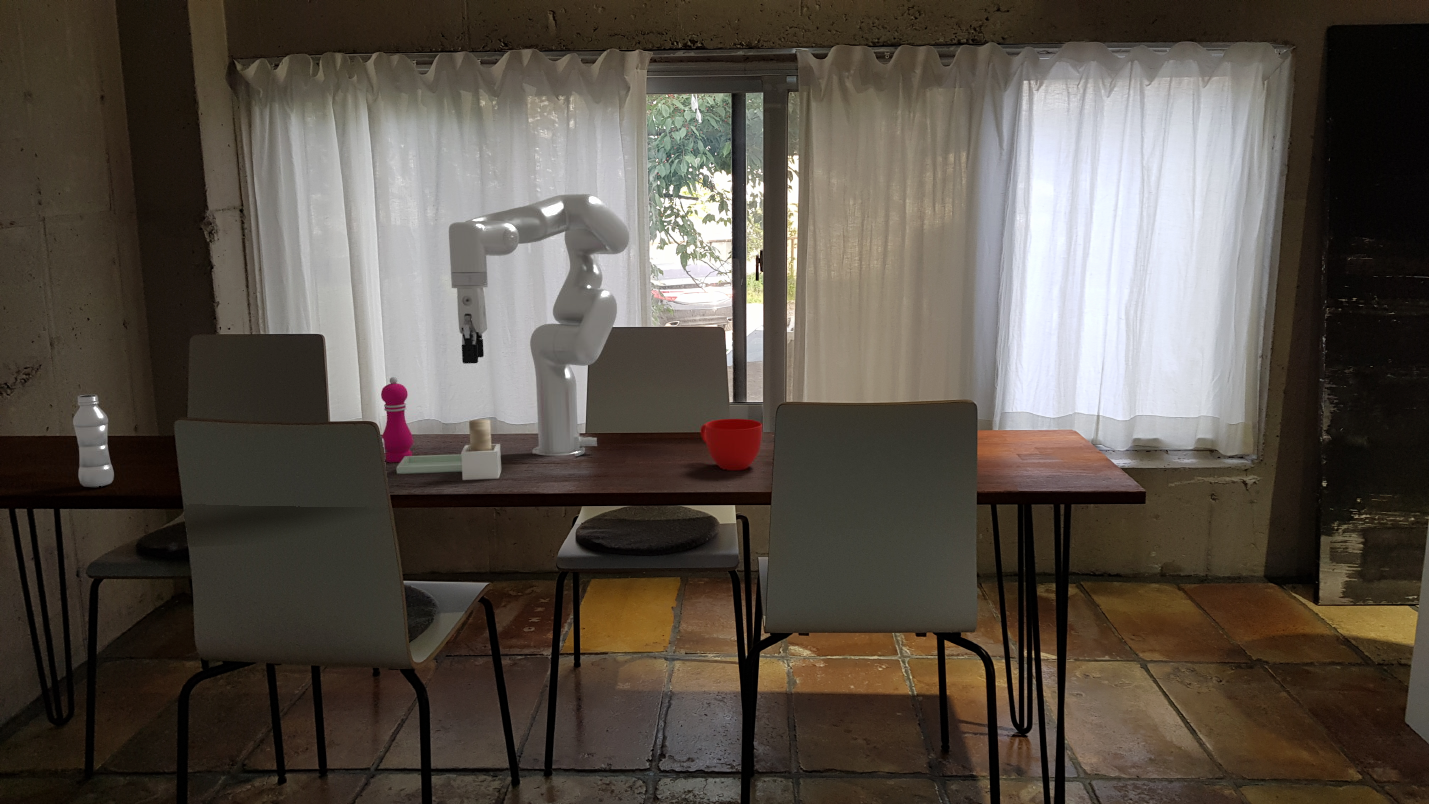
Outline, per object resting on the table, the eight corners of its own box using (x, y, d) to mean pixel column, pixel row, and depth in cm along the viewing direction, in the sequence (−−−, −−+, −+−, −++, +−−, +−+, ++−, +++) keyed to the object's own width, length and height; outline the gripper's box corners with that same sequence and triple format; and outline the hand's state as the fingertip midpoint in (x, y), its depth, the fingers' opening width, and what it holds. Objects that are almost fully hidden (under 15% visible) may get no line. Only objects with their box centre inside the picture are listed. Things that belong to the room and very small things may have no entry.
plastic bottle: (88, 483, 231) (78, 393, 227) (120, 482, 231) (110, 393, 228) (73, 490, 225) (62, 398, 221) (106, 489, 225) (96, 398, 222)
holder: (501, 474, 235) (500, 443, 234) (498, 482, 227) (497, 451, 226) (466, 475, 234) (465, 445, 233) (462, 484, 226) (461, 452, 225)
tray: (475, 464, 245) (475, 453, 244) (470, 475, 234) (470, 464, 234) (405, 466, 243) (405, 456, 243) (397, 478, 232) (396, 467, 232)
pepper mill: (405, 463, 246) (399, 379, 243) (377, 462, 248) (371, 378, 244) (419, 456, 253) (414, 375, 250) (392, 455, 255) (386, 374, 251)
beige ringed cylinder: (493, 471, 233) (491, 419, 231) (491, 476, 228) (489, 422, 226) (473, 472, 232) (470, 419, 230) (470, 477, 228) (467, 423, 226)
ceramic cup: (721, 455, 251) (721, 414, 249) (774, 466, 239) (774, 423, 238) (682, 464, 242) (681, 422, 240) (734, 476, 230) (734, 432, 229)
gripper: (482, 282, 215) (486, 365, 218) (491, 278, 232) (495, 354, 235) (445, 283, 215) (449, 366, 218) (457, 278, 232) (461, 355, 235)
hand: (473, 360), depth 226 cm, fingers open, 9 cm apart
